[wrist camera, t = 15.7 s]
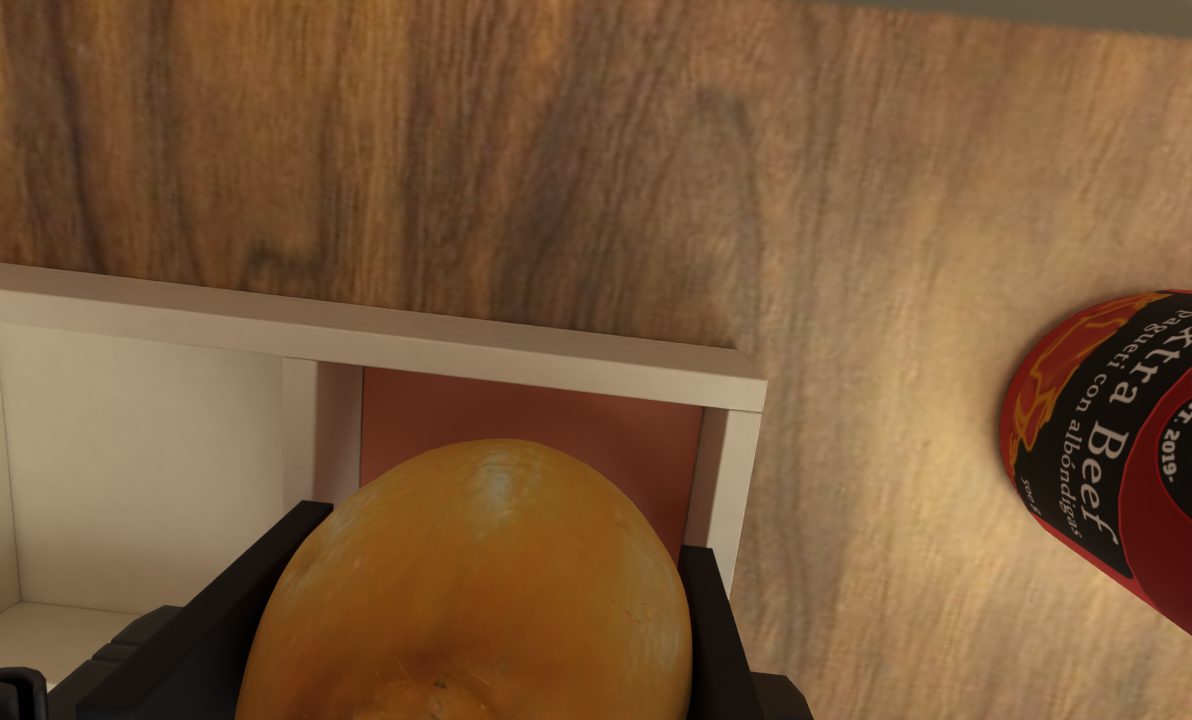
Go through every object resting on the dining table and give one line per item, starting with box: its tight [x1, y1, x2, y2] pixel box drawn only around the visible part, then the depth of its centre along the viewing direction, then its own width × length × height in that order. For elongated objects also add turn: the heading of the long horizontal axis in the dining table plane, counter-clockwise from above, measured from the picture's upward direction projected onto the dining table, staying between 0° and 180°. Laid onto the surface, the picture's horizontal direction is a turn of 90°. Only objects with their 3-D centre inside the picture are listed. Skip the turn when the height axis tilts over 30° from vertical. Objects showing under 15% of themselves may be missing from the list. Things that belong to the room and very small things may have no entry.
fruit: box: [235, 438, 693, 720], centre depth 12 cm, size 8×8×8 cm
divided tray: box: [0, 263, 768, 693], centre depth 17 cm, size 11×21×4 cm, turn 83°
